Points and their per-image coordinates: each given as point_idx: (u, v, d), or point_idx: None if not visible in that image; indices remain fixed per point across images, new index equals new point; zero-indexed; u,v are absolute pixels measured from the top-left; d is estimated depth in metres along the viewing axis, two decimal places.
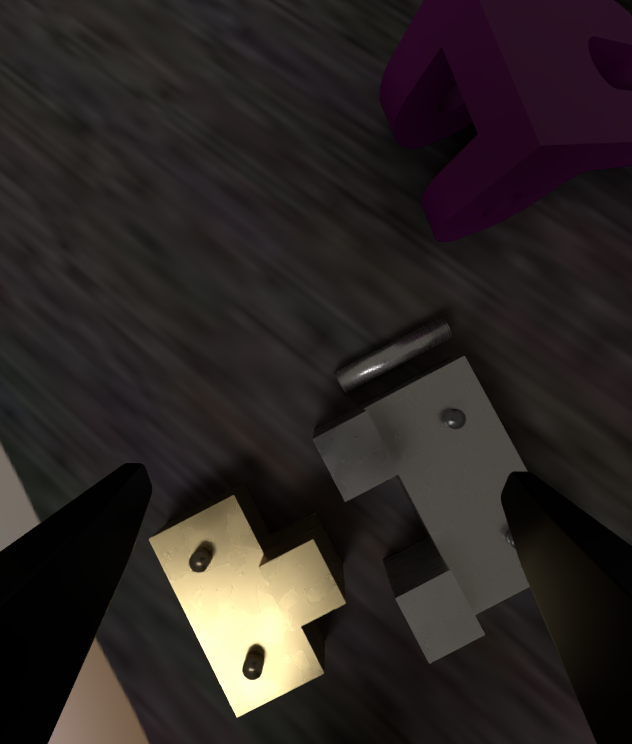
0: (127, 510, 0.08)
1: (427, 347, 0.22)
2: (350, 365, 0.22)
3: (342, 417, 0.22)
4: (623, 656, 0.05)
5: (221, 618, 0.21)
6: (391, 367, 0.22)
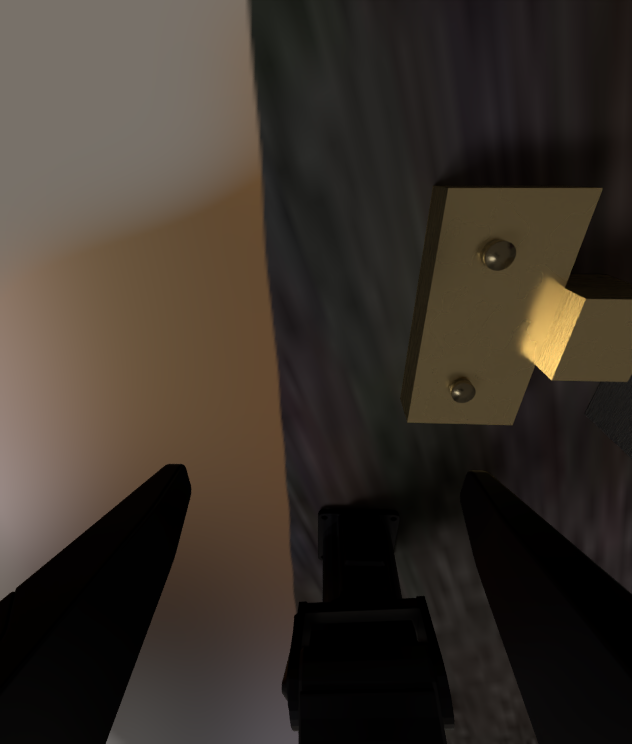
0: (172, 511, 0.08)
1: None
2: None
3: None
4: (558, 654, 0.05)
5: (461, 333, 0.17)
6: None
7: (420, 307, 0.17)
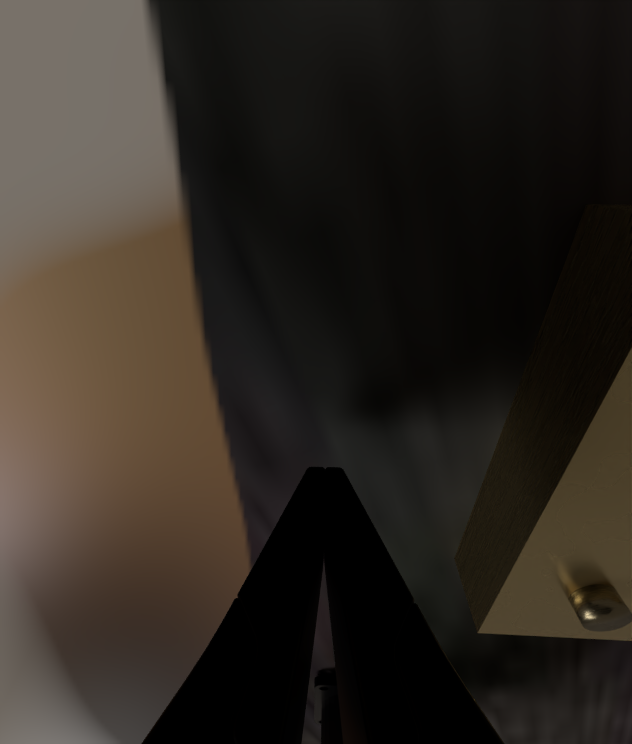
0: None
1: None
2: None
3: None
4: (341, 648, 0.05)
5: (622, 522, 0.08)
6: None
7: (526, 453, 0.08)
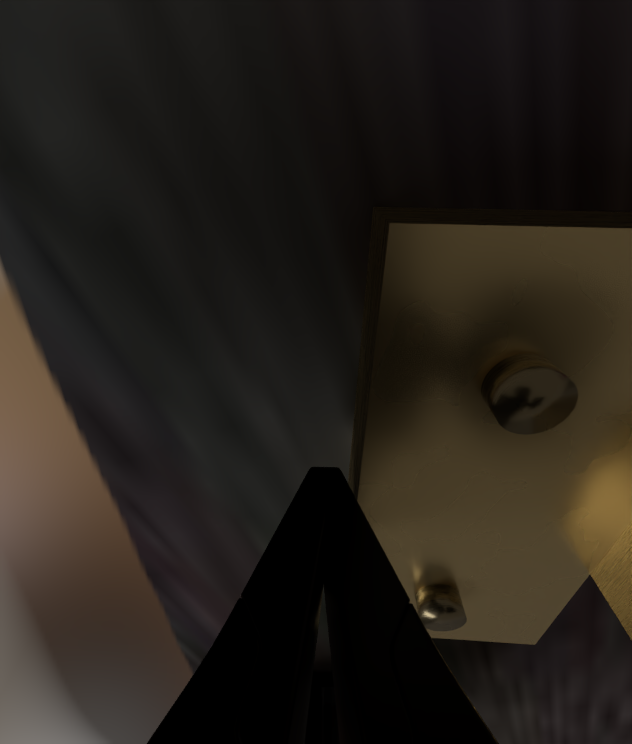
0: None
1: None
2: None
3: None
4: (338, 647, 0.05)
5: (436, 522, 0.08)
6: None
7: (355, 453, 0.08)
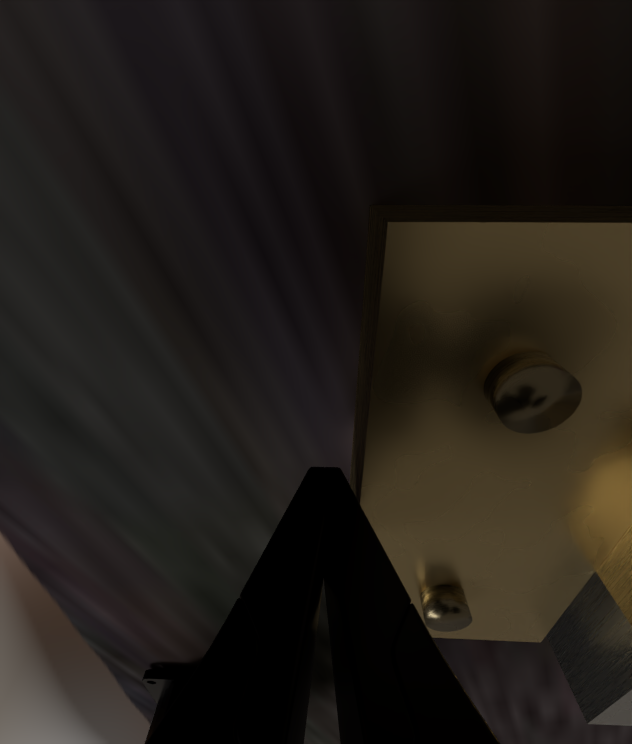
0: None
1: None
2: None
3: None
4: (338, 648, 0.05)
5: (440, 523, 0.08)
6: None
7: (357, 454, 0.08)
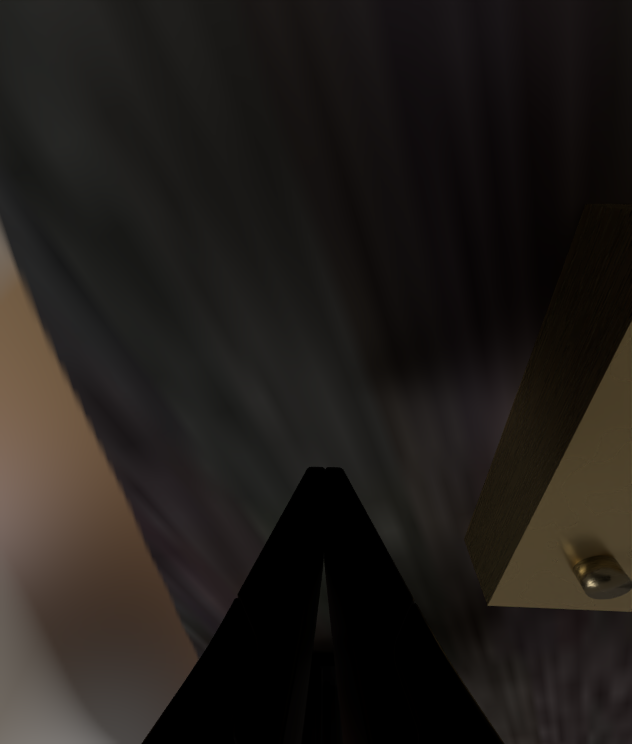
0: None
1: None
2: None
3: None
4: (341, 648, 0.05)
5: (621, 494, 0.08)
6: None
7: (532, 433, 0.09)
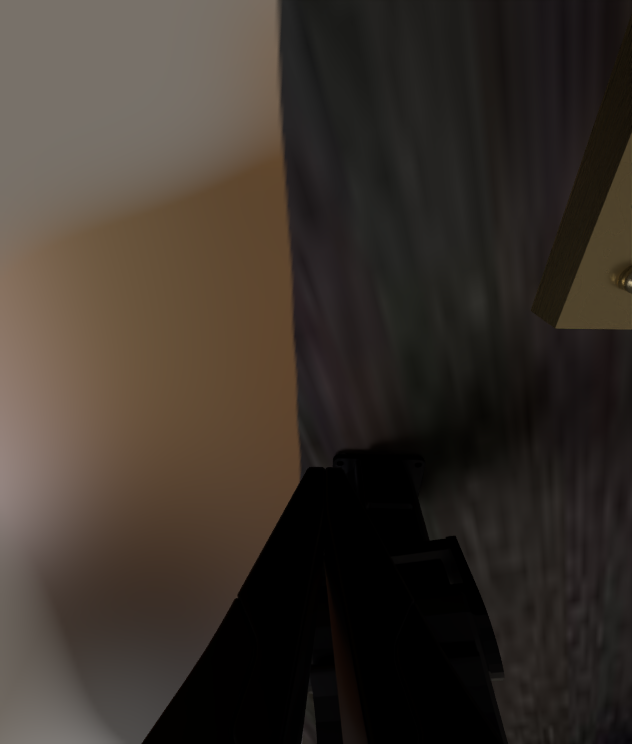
0: None
1: None
2: None
3: None
4: (341, 648, 0.05)
5: None
6: None
7: (596, 171, 0.14)
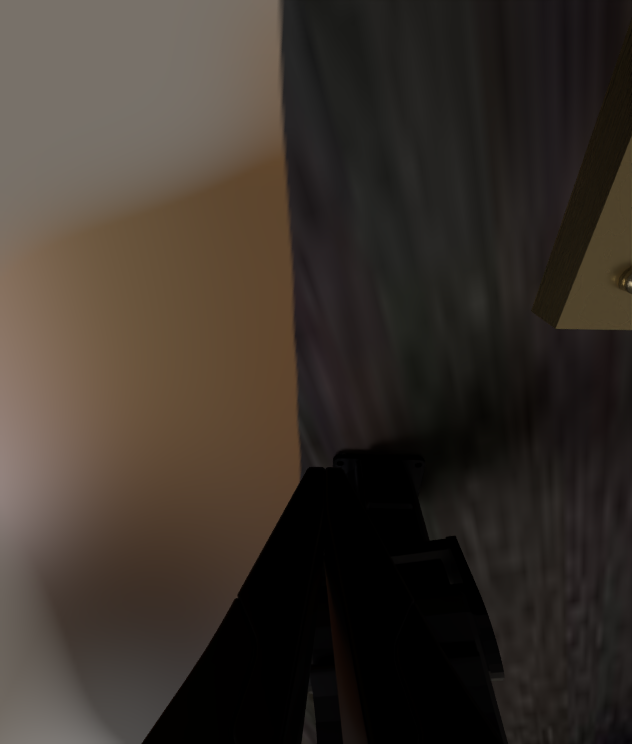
0: None
1: None
2: None
3: None
4: (341, 648, 0.05)
5: None
6: None
7: (597, 172, 0.14)
